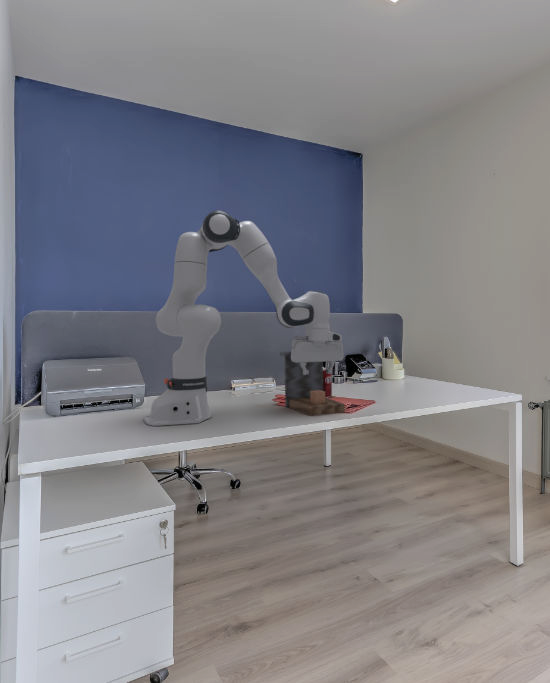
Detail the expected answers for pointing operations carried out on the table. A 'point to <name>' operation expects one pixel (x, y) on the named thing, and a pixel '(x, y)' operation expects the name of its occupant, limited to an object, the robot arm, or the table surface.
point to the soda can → (327, 383)
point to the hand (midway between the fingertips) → (317, 374)
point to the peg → (317, 397)
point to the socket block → (306, 388)
